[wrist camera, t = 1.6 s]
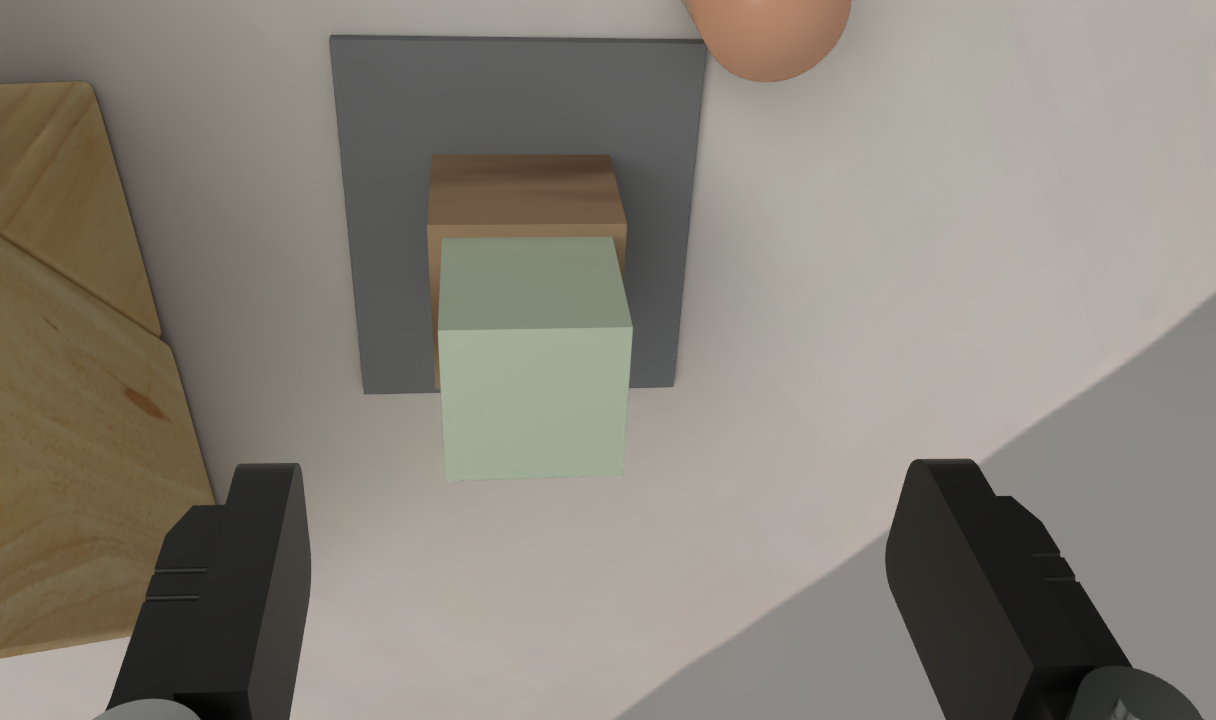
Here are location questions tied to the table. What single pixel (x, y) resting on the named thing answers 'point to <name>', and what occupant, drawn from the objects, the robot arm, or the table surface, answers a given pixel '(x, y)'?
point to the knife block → (79, 385)
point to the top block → (533, 357)
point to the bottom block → (519, 205)
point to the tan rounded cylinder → (769, 34)
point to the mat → (510, 125)
